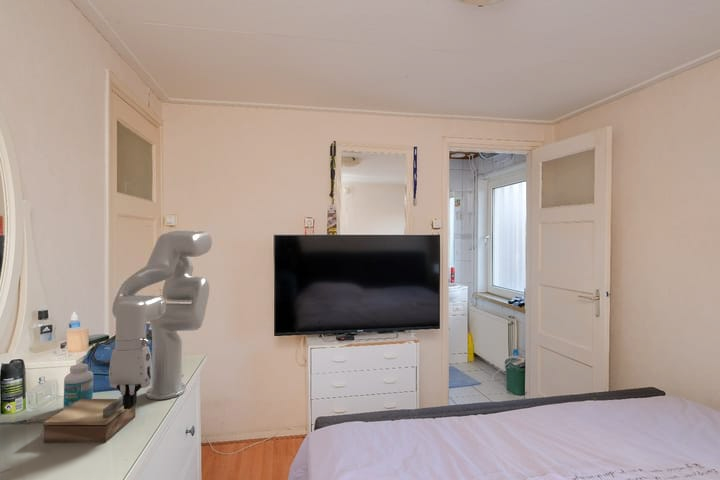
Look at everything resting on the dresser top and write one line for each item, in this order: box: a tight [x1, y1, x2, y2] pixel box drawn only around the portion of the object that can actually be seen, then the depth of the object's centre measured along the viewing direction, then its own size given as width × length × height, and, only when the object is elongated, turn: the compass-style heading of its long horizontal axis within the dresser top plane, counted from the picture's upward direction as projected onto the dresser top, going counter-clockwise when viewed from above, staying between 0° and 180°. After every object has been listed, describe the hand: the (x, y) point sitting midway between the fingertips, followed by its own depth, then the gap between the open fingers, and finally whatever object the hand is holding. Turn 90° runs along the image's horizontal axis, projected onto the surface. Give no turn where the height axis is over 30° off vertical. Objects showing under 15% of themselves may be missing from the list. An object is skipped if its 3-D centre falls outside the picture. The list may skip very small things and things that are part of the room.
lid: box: [43, 395, 125, 426], centre depth 105 cm, size 14×16×3 cm
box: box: [43, 404, 136, 444], centre depth 105 cm, size 14×16×4 cm
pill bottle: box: [63, 363, 94, 410], centre depth 118 cm, size 8×7×14 cm
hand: (129, 406), depth 106 cm, fingers closed
